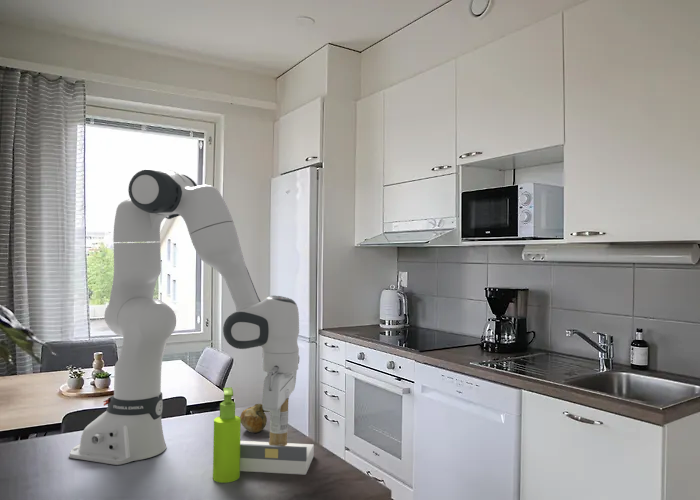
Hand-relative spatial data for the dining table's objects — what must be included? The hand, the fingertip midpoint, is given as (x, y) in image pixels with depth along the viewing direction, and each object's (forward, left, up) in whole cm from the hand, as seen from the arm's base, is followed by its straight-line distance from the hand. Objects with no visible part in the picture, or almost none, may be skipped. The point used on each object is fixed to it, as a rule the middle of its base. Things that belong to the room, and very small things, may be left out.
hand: (279, 418), depth 129 cm
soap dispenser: (-9, -12, -10) cm, 18 cm away
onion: (-12, +20, -10) cm, 25 cm away
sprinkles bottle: (0, 0, -6) cm, 6 cm away
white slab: (-2, -2, -10) cm, 10 cm away
